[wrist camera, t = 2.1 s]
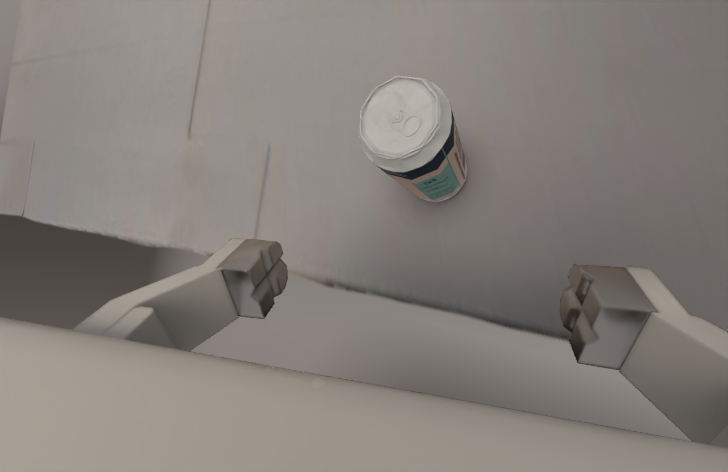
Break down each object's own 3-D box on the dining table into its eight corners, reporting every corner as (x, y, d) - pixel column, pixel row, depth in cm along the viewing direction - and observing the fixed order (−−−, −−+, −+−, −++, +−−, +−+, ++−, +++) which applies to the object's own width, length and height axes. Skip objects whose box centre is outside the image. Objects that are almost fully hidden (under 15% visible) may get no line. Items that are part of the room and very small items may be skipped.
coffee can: (430, 134, 26) (386, 50, 15) (480, 163, 25) (471, 92, 14) (398, 183, 27) (333, 137, 16) (444, 214, 26) (408, 186, 15)
